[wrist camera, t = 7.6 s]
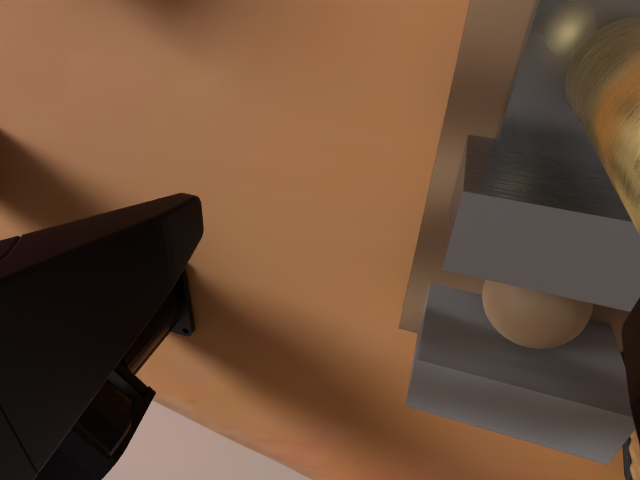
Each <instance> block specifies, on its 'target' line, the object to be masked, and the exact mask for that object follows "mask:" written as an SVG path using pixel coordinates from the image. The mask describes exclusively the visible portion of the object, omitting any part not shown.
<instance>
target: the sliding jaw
mask: <svg viewBox="0 0 640 480" xmlns="http://www.w3.org/2000/svg"><path fill="white" fill-rule="evenodd" d="M442 270H444V271H449V272H453V273H458V274H462V275H467V276H471V277H476V278H480V279H485V280H489V281H494V282H498V283H503V284H507V285H512V286H516V287H521V288H525V289H530V290H534V291H539V292H543V293H548V294H552V295H557V296H561V297H566V298H570V299H575V300H579V301H584V302H588V303H593V304H597V305H602V306H606V307H611V308H615V309H620V310H624V311H629V312H631V310H632V309H633V307H634V305H635V304H636V302H637V301H638V299H639V297H640V0H536V1H535V4H534V8H533V11H532V14H531V18H530V21H529V25H528V28H527V31H526V35H525V38H524V42H523V45H522V48H521V52H520V55H519V59H518V62H517V66H516V69H515V72H514V76H513V79H512V83H511V86H510V89H509V93H508V96H507V100H506V103H505V106H504V110H503V113H502V117H501V120H500V124H499V127H498V130H497V134H496V137H495V139H492V138H486V137H480V136H473V135H468V137H467V141H466V145H465V149H464V153H463V157H462V160H461V164H460V168H459V172H458V176H457V180H456V184H455V188H454V192H453V196H452V200H451V205H450V213H449V220H448V228H447V236H446V243H445V251H444V259H443V266H442Z"/></svg>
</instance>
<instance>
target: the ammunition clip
mask: <svg viewBox="0 0 640 480" xmlns="http://www.w3.org/2000/svg"><path fill="white" fill-rule="evenodd" d="M621 356H622V359H623V362H624V353H623V350H622V352H621ZM624 365H625V362H624ZM623 461H624V475H625V479H626V480H640V445H639V441H638V437H637V433H636V429H635V431H634V432H633V433H632V434H631V436H630V437H629V438H628V439H627V441H626V442H625V443H624V444H623Z"/></svg>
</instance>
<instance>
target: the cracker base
mask: <svg viewBox="0 0 640 480" xmlns="http://www.w3.org/2000/svg"><path fill="white" fill-rule="evenodd" d="M535 1H536V0H470V4H469V8H468V13H467V17H466V22H465V27H464V31H463V36H462V40H461V45H460V50H459V54H458V59H457V63H456V68H455V72H454V77H453V82H452V86H451V91H450V95H449V100H448V105H447V109H446V114H445V118H444V123H443V127H442V132H441V137H440V141H439V146H438V150H437V155H436V160H435V164H434V169H433V173H432V178H431V182H430V187H429V192H428V196H427V201H426V205H425V210H424V215H423V219H422V224H421V228H420V233H419V237H418V242H417V247H416V251H415V256H414V260H413V265H412V270H411V274H410V279H409V283H408V288H407V292H406V297H405V302H404V306H403V311H402V315H401V320H400V325H399V329H403V330H407V331H411V332H415V333H418V336H417V342H416V347H415V353H414V359H413V365H412V371H411V377H410V382H409V388H408V394H407V400H406V406H408V407H411V408H415V409H418V410H422V411H425V412H429V413H432V414H435V415H439V416H442V417H446V418H449V419H452V420H456V421H459V422H463V423H466V424H470V425H473V426H476V427H480V428H483V429H487V430H490V431H494V432H497V433H500V434H504V435H507V436H511V437H514V438H518V439H521V440H524V441H528V442H531V443H535V444H538V445H541V446H545V447H548V448H552V449H555V450H559V451H562V452H565V453H569V454H572V455H576V456H579V457H583V458H586V459H589V460H593V461H596V462H600V463H603V464H606V465H607V464H608V463H609V462H610V461H611V459H612V458H613V457H614V456H615V454H616V453H617V452H618V451H619V449H620V448H621V447H622V446H623V444H624V443H625V442H626V441H627V439H628V438H629V437H630V436H631V434H632V433H633V432H634V431H635V425H634V421H633V417H632V412H631V408H630V402H629V395H628V387H627V379H626V370H625V365H624V362H623V359H622V356H621V352H622V350H623V345H622V336H621V332H622V326H623V323H624V321H625V320H626V318H627V317H628V315H629V313H630V312H629V311H624V310H620V309H615V308H611V307H606V306H602V305H597V304H593V303H588V302H584V301H579V300H575V299H570V298H566V297H561V296H557V295H552V294H548V293H543V292H539V291H534V290H530V289H525V288H521V287H516V286H512V285H507V284H503V283H498V282H494V281H489V280H485V279H480V278H476V277H471V276H467V275H462V274H458V273H453V272H449V271H444V270H442V266H443V259H444V251H445V243H446V236H447V228H448V220H449V213H450V205H451V200H452V196H453V192H454V188H455V184H456V180H457V176H458V172H459V168H460V164H461V160H462V157H463V153H464V149H465V145H466V141H467V137H468V135H473V136H480V137H486V138H492V139H495V137H496V134H497V130H498V127H499V124H500V120H501V117H502V113H503V110H504V106H505V103H506V100H507V96H508V93H509V89H510V86H511V83H512V79H513V76H514V72H515V69H516V66H517V62H518V59H519V55H520V52H521V48H522V45H523V42H524V38H525V35H526V31H527V28H528V25H529V21H530V18H531V14H532V11H533V8H534V4H535Z"/></svg>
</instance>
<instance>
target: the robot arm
mask: <svg viewBox="0 0 640 480" xmlns="http://www.w3.org/2000/svg"><path fill="white" fill-rule="evenodd" d="M203 229H204V227H203V216H202V206H201V201H200V199H199V197H198V196H195V195H190V194H186V193H178V194H175V195H171V196H167V197H163V198H159V199H156V200H152V201H148V202H144V203H141V204H137V205H133V206H129V207H125V208H122V209H118V210H114V211H110V212H107V213H103V214H99V215H95V216H91V217H88V218H84V219H80V220H76V221H73V222H69V223H65V224H61V225H57V226H54V227H50V228H46V229H42V230H38V231H35V232H31V233H27V234H23V235H22V236H21V237H20V236H15V237H12V238H8V239H4V240H0V480H101V479H102V478H104V476H105V475H106V474H107V473H108V472H109V471H110V470H111V469H112V467H113V466H114V465H115V464H116V463H117V461H118V460H119V458H120V457H121V456H122V454H123V453H124V451H125V449H126V448H127V446H128V444H129V442H130V440H131V438H132V437H133V435H134V433H135V431H136V429H137V427H138V425H139V424H140V422H141V420H142V418H143V416H144V414H145V412H146V410H147V409H148V407H149V405H150V403H151V401H152V399H153V397H154V396H155V394H156V392H155V391H154V390H153V389H152V388H151V387H150V386H149V387H147V386H146V385H145V384H144V383H143V382H142V381H141V380H140V379H138V378H137V377H136V376H135V374H136V373H137V372H138V371H139V370H140V368H141V367H142V366H143V365H144V363H145V362H146V361H147V360H148V358H149V357H150V356H151V355H152V354H153V352H154V351H155V350H156V349H157V347H158V346H159V345H160V344H161V342H162V341H163V340H164V339H165V337H166V336H167V335H168V334H169V333H170V331H171V332H175V333H178V334H182V335H185V336H191V335H192V333H193V332H194V331H195V327H194V320H193V314H192V308H191V301H190V295H189V288H188V282H187V275H186V269H185V266H186V265H187V263H188V261H189V259H190V257H191V256H192V254H193V252H194V250H195V249H196V247H197V245H198V243H199V242H200V240H201V238H202V235H203ZM621 336H622V345H623V353H624V362H625V370H626V379H627V387H628V395H629V402H630V408H631V412H632V417H633V421H634V425H635V429H636V433H637V437H638V441H639V445H640V297H639V299H638V301H637V302H636V304H635V305H634V307H633V309H632V310H631V312H630V313H629V315H628V317H627V318H626V320H625V321H624V323H623V326H622V332H621Z"/></svg>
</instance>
